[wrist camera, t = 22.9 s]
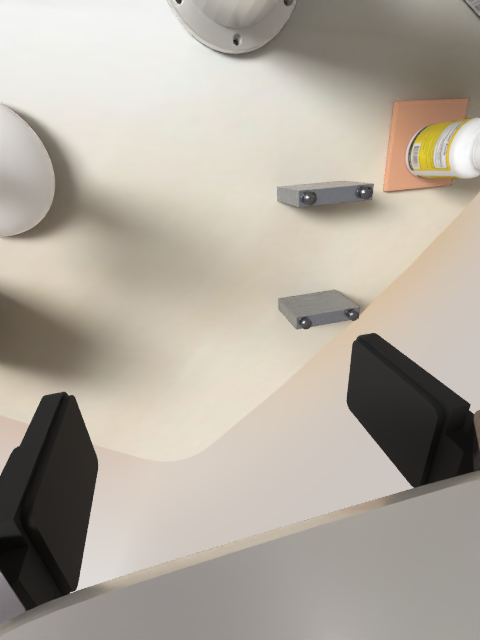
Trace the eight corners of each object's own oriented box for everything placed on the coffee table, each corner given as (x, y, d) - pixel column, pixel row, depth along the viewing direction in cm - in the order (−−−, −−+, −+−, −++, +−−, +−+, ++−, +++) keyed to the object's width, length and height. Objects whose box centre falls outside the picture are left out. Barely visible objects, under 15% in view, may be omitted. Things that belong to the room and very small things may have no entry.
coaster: (394, 102, 35) (398, 100, 35) (463, 99, 37) (469, 98, 36) (382, 190, 39) (387, 191, 39) (446, 184, 41) (451, 184, 40)
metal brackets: (277, 186, 36) (301, 191, 30) (342, 181, 38) (377, 184, 32) (278, 309, 43) (298, 331, 37) (334, 300, 44) (361, 320, 39)
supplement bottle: (452, 146, 38) (539, 141, 30) (420, 186, 39) (495, 192, 31) (428, 112, 36) (515, 96, 27) (394, 156, 37) (468, 154, 29)
